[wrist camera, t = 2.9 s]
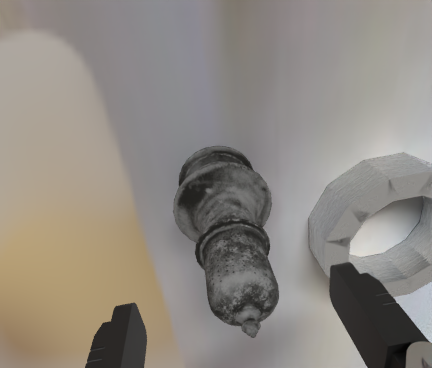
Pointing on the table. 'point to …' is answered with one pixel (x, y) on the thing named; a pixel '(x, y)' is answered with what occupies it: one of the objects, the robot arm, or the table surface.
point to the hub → (368, 205)
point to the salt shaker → (229, 234)
